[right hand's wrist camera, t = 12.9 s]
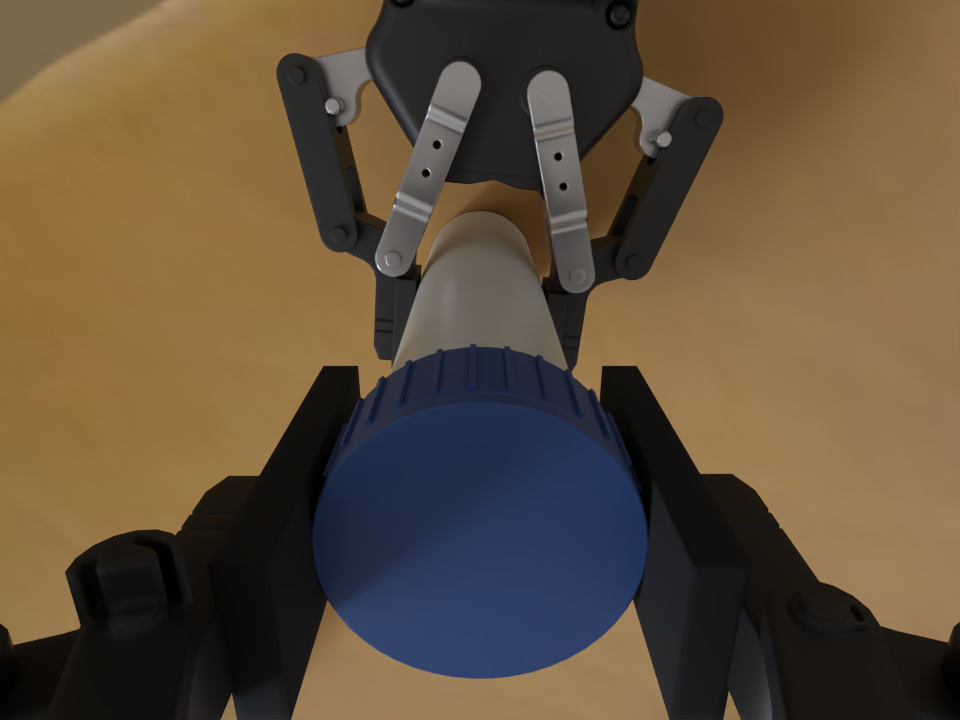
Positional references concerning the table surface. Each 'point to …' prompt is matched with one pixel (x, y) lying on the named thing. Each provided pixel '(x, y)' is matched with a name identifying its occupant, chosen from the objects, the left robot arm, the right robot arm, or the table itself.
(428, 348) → the jar
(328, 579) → the lid
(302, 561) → the right robot arm
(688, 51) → the table surface
